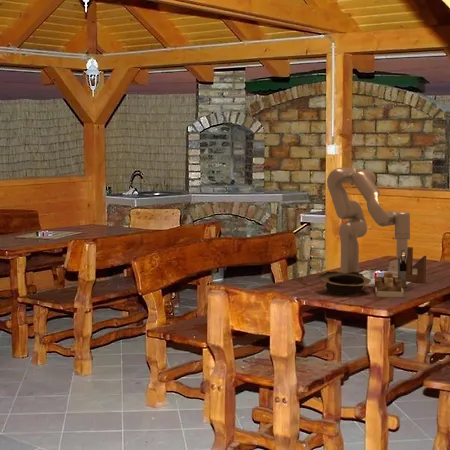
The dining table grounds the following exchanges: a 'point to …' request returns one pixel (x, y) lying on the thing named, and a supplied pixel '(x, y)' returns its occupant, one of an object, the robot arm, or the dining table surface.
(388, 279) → the birch block
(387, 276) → the oak block
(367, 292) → the dining table surface
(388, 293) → the tray
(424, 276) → the tan angled rod fixture
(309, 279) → the dining table surface
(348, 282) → the stone bowl
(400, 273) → the square grey bottle
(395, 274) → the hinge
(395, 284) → the groove board
